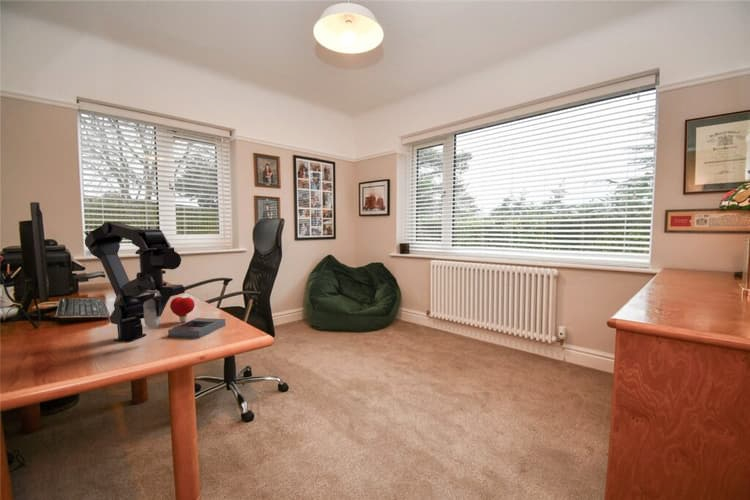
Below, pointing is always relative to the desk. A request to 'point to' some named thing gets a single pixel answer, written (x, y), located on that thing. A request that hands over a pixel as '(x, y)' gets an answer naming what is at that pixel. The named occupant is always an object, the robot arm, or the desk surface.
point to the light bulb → (182, 307)
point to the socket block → (196, 328)
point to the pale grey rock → (150, 314)
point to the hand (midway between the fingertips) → (154, 316)
